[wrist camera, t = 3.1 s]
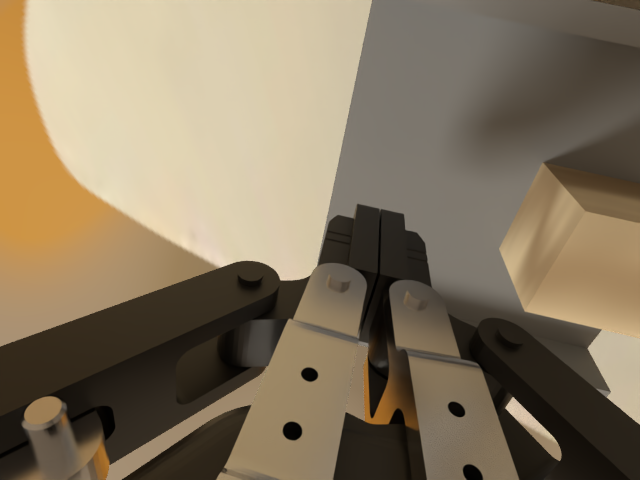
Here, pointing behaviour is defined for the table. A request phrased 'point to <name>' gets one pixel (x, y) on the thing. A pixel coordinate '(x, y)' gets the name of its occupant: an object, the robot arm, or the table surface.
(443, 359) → the robot arm
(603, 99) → the trap box
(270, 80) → the table surface
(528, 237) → the birch block
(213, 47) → the table surface
